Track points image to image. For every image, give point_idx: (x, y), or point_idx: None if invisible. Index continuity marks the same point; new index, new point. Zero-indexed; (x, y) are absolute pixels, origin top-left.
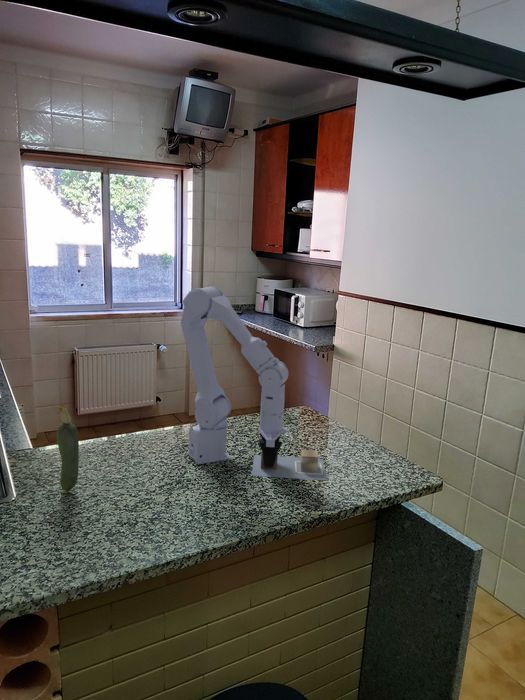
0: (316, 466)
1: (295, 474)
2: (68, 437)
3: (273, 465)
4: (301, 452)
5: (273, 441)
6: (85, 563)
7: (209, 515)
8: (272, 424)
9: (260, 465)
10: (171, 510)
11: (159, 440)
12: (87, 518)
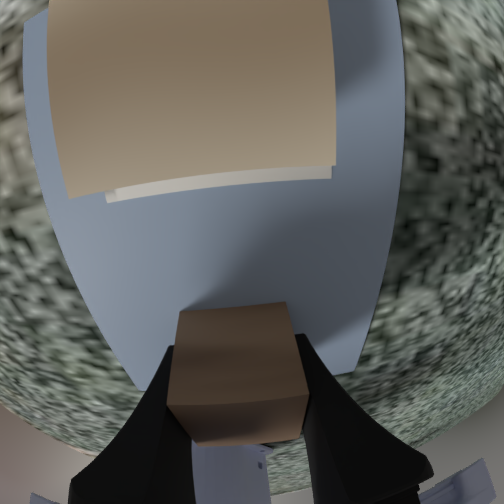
0: None
1: (348, 177)
2: None
3: (308, 341)
4: (140, 179)
5: (490, 490)
6: (488, 393)
7: (483, 359)
8: None
9: None
10: (445, 401)
11: None
12: (424, 434)
